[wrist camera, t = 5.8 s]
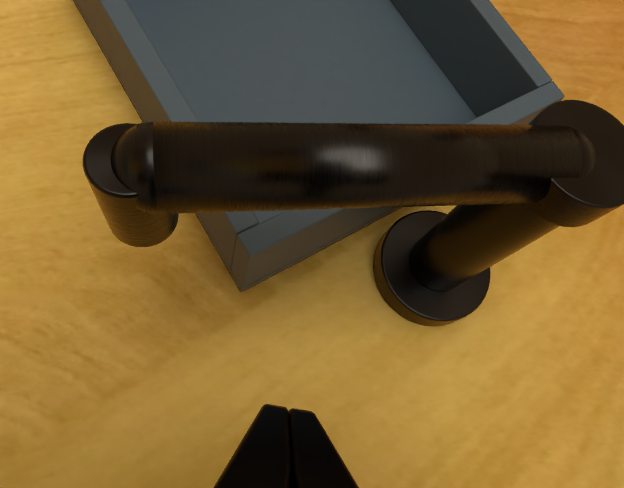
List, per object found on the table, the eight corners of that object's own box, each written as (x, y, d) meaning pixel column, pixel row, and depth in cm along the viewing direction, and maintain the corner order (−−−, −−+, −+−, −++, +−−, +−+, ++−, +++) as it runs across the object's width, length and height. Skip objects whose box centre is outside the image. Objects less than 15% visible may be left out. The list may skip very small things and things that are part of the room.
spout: (546, 160, 15) (631, 92, 12) (573, 250, 14) (672, 200, 11) (108, 164, 12) (78, 78, 9) (107, 274, 12) (72, 218, 9)
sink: (507, 151, 23) (566, 96, 19) (240, 293, 18) (249, 256, 15) (336, -78, 26) (358, -165, 22) (70, -5, 21) (41, -99, 18)
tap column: (492, 316, 20) (652, 250, 13) (388, 335, 19) (500, 275, 12) (460, 214, 21) (588, 102, 14) (361, 226, 20) (447, 112, 13)
